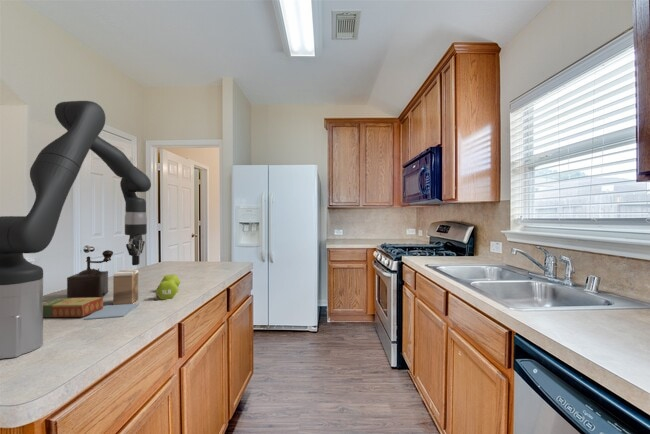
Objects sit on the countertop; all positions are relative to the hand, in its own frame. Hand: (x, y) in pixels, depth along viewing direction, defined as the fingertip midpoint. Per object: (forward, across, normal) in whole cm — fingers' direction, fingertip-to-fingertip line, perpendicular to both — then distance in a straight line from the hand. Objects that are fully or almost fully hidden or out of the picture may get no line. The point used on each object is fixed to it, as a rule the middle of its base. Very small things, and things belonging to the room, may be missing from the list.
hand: (135, 264), depth 115 cm
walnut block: (+13, -9, 0) cm, 16 cm away
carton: (+13, -18, +13) cm, 26 cm away
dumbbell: (+13, -1, -12) cm, 18 cm away
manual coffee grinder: (+13, +6, +18) cm, 23 cm away
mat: (+13, -19, 0) cm, 23 cm away
